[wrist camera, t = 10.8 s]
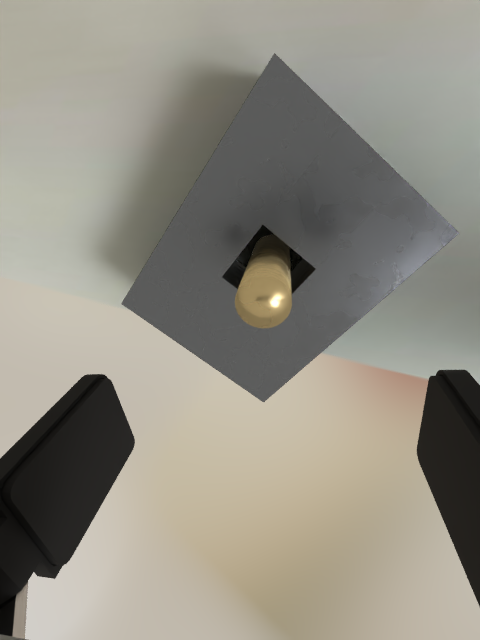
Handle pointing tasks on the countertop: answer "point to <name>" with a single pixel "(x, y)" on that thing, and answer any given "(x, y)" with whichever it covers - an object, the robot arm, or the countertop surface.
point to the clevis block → (285, 236)
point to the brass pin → (266, 284)
